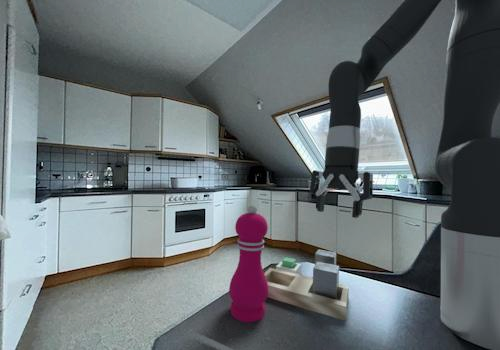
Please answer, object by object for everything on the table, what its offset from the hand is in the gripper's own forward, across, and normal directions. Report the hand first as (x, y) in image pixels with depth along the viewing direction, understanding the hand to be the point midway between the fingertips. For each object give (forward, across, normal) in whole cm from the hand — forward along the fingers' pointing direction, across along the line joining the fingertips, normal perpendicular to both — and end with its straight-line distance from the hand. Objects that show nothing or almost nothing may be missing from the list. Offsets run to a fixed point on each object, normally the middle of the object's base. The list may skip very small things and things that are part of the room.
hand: (336, 214), depth 52 cm
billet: (+17, -3, +8) cm, 19 cm away
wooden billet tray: (+18, +2, +10) cm, 21 cm away
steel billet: (+17, +2, -1) cm, 17 cm away
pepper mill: (+19, +5, +22) cm, 30 cm away
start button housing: (+18, +10, +3) cm, 21 cm away
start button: (+16, +10, +3) cm, 19 cm away
